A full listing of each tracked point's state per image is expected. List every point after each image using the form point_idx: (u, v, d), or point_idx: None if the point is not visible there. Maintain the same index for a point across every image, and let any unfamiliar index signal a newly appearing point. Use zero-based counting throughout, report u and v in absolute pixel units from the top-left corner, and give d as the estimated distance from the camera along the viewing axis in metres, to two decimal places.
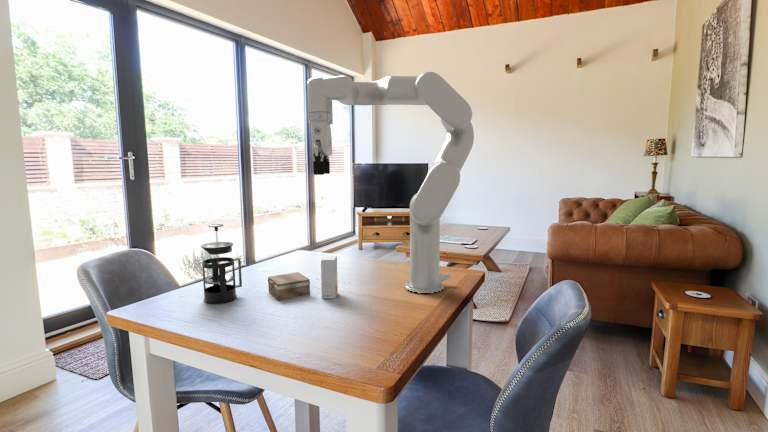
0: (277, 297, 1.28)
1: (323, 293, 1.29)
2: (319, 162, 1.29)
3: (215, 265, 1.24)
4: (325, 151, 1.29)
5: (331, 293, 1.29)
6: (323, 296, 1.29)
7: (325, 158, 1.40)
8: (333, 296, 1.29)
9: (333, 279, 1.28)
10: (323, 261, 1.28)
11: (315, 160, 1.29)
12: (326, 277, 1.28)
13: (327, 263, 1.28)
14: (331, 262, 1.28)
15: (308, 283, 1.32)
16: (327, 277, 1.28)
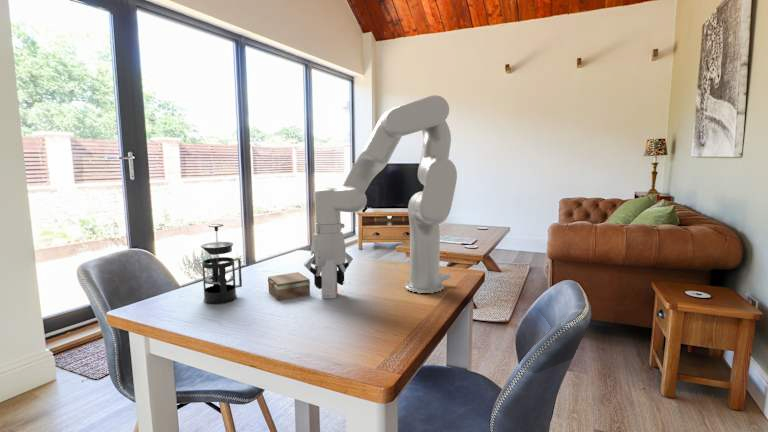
0: (277, 297, 1.28)
1: (323, 293, 1.29)
2: None
3: (215, 265, 1.24)
4: None
5: (332, 293, 1.29)
6: (323, 296, 1.29)
7: None
8: (333, 296, 1.29)
9: (333, 279, 1.28)
10: None
11: None
12: (326, 277, 1.28)
13: (327, 263, 1.28)
14: (331, 262, 1.28)
15: (308, 283, 1.32)
16: (328, 277, 1.28)
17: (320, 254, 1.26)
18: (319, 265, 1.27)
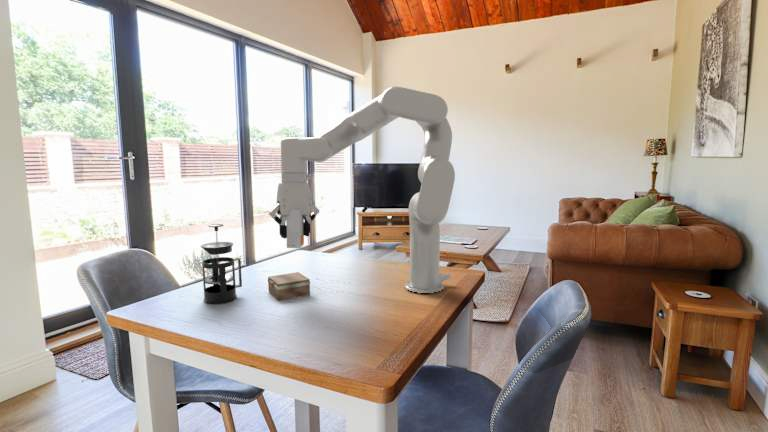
0: (277, 297, 1.28)
1: (288, 243, 1.29)
2: None
3: (215, 265, 1.24)
4: None
5: (297, 243, 1.29)
6: (288, 246, 1.29)
7: None
8: (298, 246, 1.29)
9: (298, 228, 1.28)
10: None
11: None
12: (291, 226, 1.28)
13: (292, 212, 1.27)
14: (296, 212, 1.27)
15: (308, 283, 1.32)
16: (293, 226, 1.28)
17: (285, 203, 1.26)
18: (284, 214, 1.27)
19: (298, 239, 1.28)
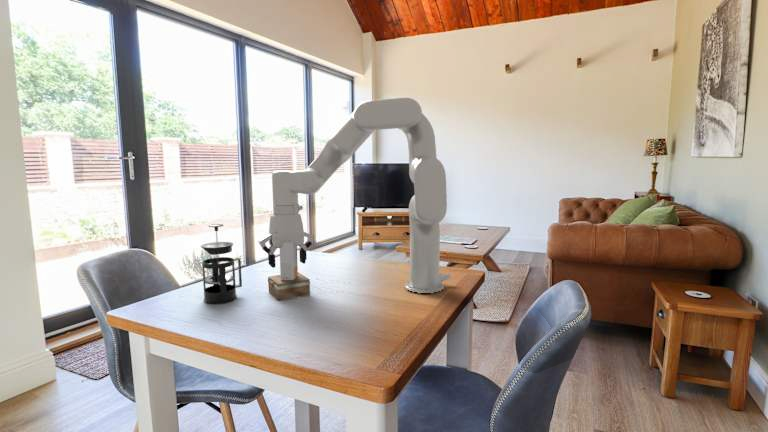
0: (277, 297, 1.28)
1: (282, 275, 1.31)
2: None
3: (215, 265, 1.24)
4: None
5: (290, 275, 1.31)
6: (282, 278, 1.31)
7: None
8: (292, 278, 1.31)
9: (292, 261, 1.30)
10: None
11: None
12: (285, 259, 1.30)
13: (285, 245, 1.30)
14: (289, 245, 1.30)
15: (308, 283, 1.32)
16: (286, 259, 1.30)
17: (277, 235, 1.28)
18: (276, 246, 1.29)
19: (292, 271, 1.31)
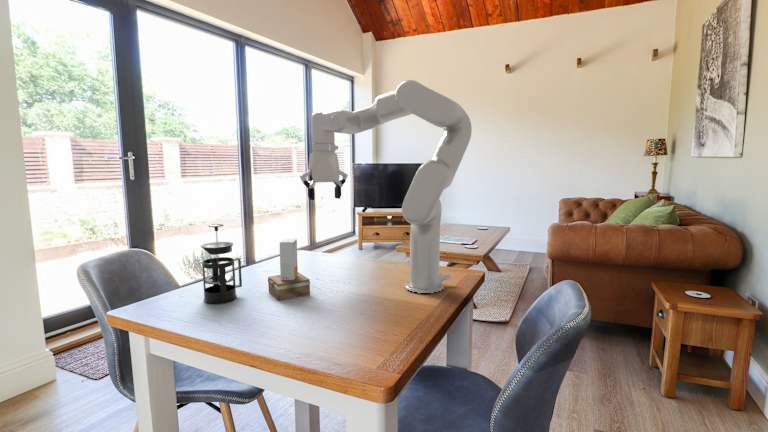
0: (277, 297, 1.28)
1: (282, 275, 1.31)
2: None
3: (215, 265, 1.24)
4: None
5: (290, 275, 1.31)
6: (282, 278, 1.31)
7: None
8: (292, 278, 1.31)
9: (292, 261, 1.30)
10: (281, 243, 1.29)
11: None
12: (285, 259, 1.30)
13: (285, 245, 1.30)
14: (289, 245, 1.30)
15: (308, 283, 1.32)
16: (286, 259, 1.30)
17: (316, 170, 1.42)
18: (315, 180, 1.43)
19: (292, 271, 1.31)
